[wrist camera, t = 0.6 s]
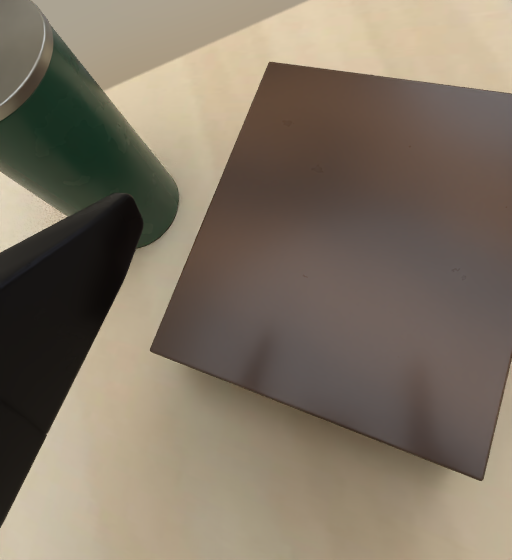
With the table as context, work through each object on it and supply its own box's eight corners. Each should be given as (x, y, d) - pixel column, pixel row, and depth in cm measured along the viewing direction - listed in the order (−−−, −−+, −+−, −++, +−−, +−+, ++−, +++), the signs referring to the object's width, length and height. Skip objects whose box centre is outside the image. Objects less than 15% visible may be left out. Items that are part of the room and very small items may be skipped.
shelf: (452, 464, 19) (483, 482, 15) (189, 362, 24) (148, 350, 19) (528, 164, 23) (572, 100, 18) (284, 121, 27) (268, 60, 22)
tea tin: (156, 260, 26) (-6, 140, 14) (79, 236, 28) (-122, 111, 16) (193, 174, 27) (72, -2, 15) (116, 156, 29) (-45, -13, 17)
